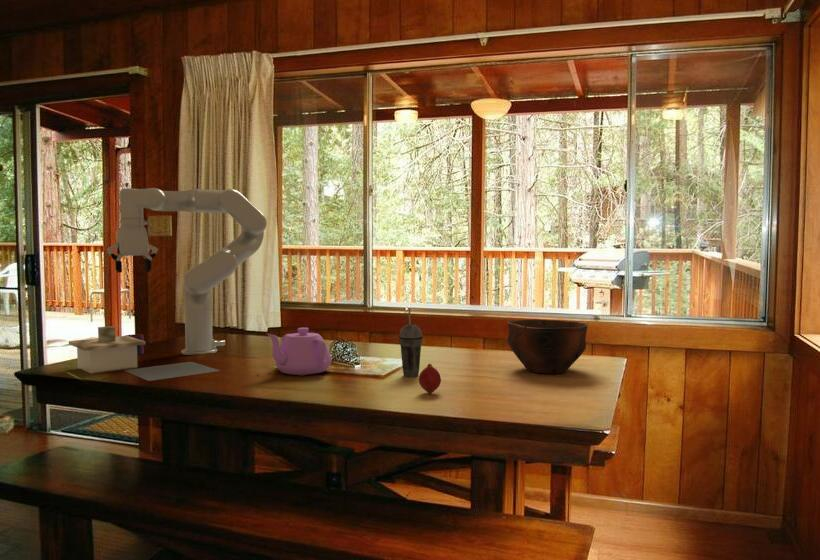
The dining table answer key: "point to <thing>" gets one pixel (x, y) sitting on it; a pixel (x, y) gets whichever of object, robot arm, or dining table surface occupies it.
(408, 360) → the beverage cup
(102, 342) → the lid
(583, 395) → the dining table surface
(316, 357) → the teapot
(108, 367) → the basin
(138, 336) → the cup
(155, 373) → the mat
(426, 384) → the onion
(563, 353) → the bowl
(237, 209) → the robot arm
